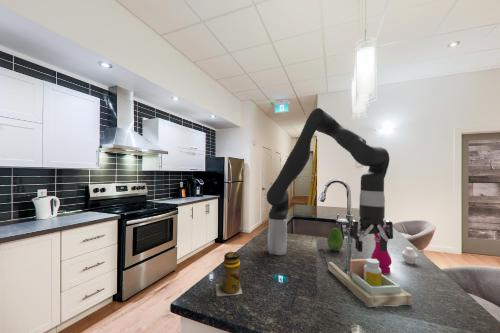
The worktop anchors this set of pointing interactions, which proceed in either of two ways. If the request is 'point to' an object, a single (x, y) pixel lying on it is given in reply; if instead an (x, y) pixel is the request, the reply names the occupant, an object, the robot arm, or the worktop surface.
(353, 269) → the drawer
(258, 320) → the worktop surface
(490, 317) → the worktop surface
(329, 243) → the avocado
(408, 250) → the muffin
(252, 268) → the worktop surface
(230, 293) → the condiment
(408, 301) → the bay
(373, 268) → the supplement bottle
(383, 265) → the pepper mill
